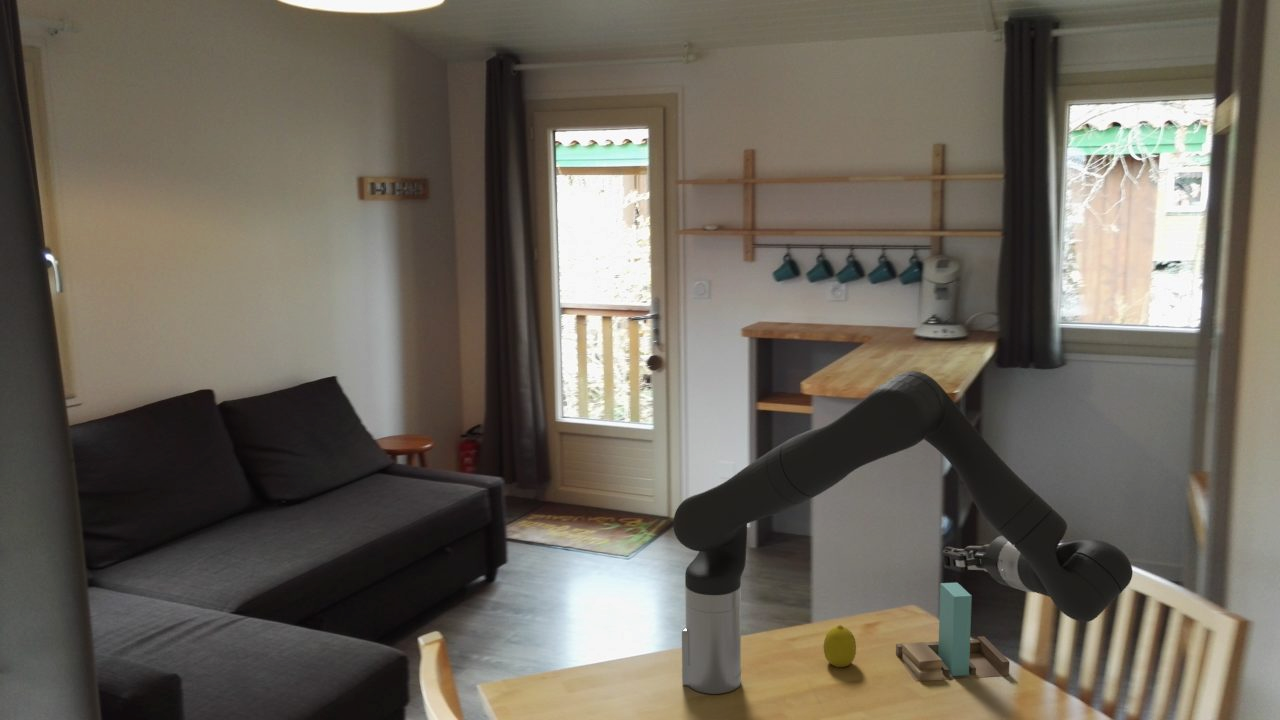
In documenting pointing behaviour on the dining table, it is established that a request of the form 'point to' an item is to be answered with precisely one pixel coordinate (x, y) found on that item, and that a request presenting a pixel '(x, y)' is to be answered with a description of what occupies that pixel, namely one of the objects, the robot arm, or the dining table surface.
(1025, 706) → the dining table surface
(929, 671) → the offcut lower
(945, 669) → the rack
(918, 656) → the offcut upper
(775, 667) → the dining table surface
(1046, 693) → the dining table surface
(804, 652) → the dining table surface
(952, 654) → the teal rectangular block
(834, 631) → the lemon
